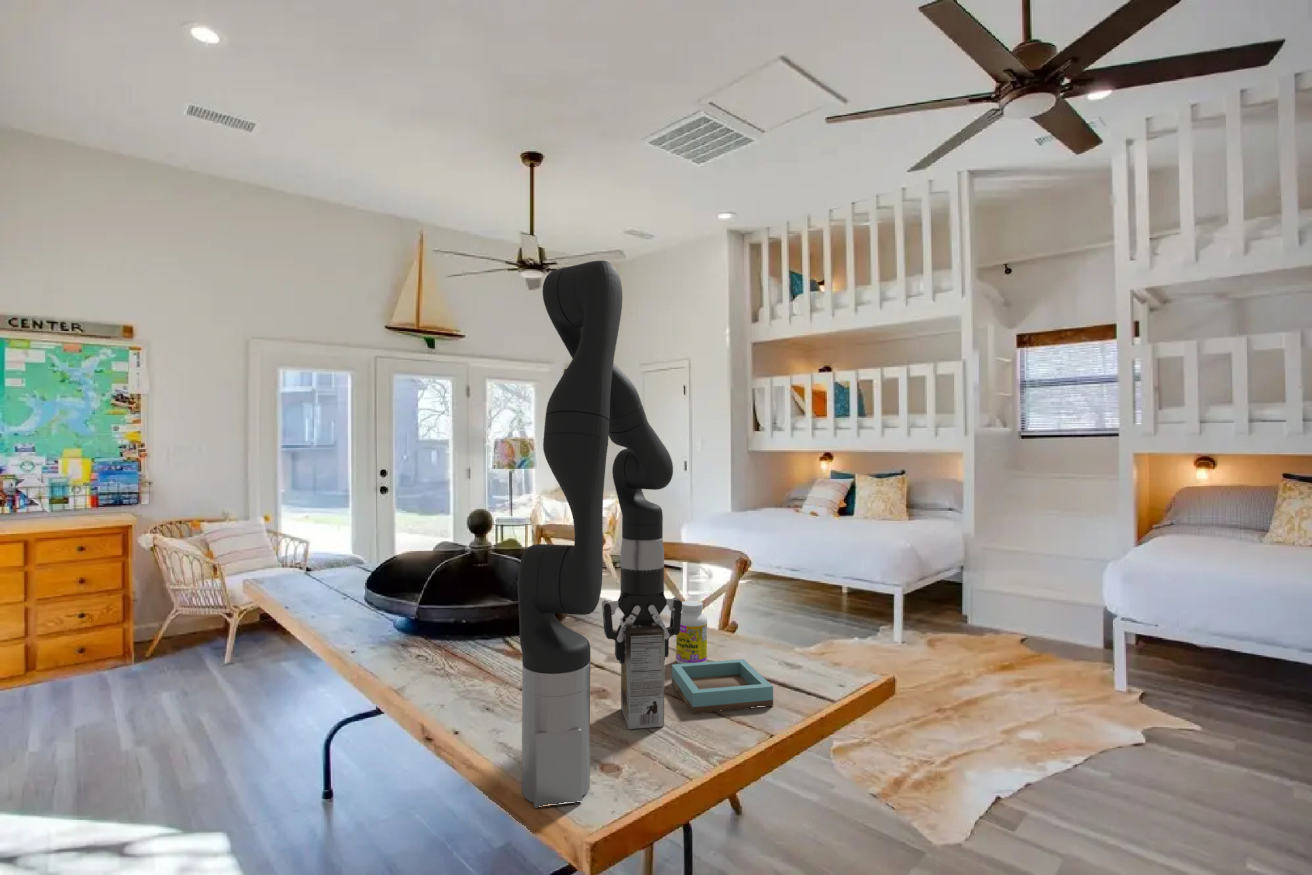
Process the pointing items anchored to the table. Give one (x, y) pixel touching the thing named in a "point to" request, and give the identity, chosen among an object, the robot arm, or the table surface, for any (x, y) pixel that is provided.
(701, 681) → the teal square tray
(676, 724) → the table surface
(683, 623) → the supplement bottle
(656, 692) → the coffee box
